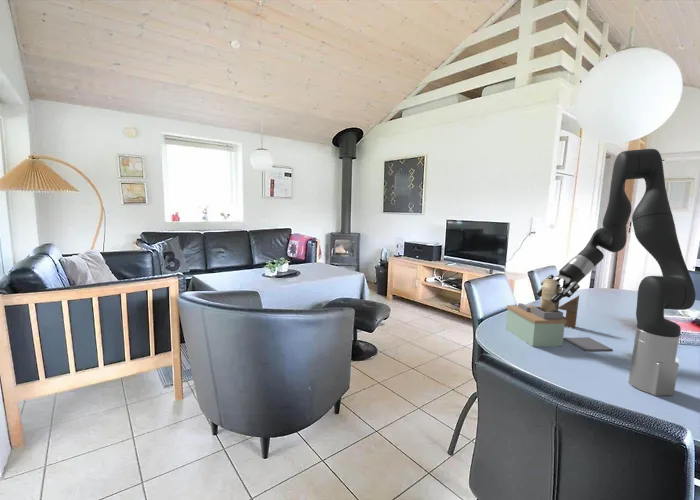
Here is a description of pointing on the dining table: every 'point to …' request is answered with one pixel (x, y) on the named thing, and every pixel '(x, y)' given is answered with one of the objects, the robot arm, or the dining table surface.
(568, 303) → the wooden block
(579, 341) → the charcoal mat
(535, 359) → the dining table surface
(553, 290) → the tan ridged cylinder
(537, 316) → the pale green box
